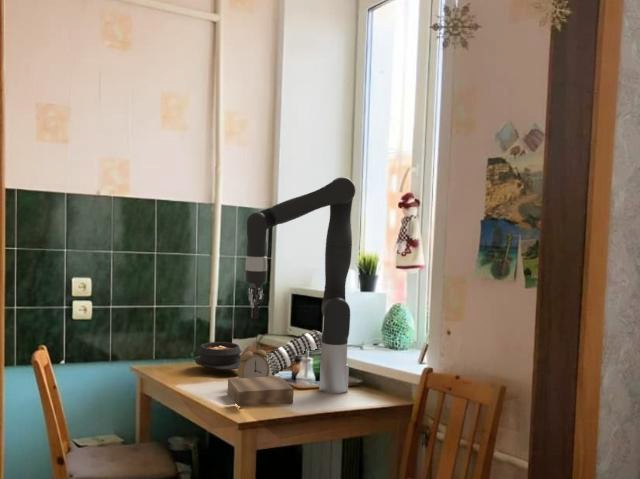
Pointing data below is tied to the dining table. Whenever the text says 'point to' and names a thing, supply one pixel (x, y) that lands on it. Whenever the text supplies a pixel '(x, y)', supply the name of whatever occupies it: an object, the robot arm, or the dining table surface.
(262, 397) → the walnut block
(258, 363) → the alarm clock
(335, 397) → the dining table surface
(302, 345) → the decorative candle
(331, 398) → the dining table surface
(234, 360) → the casserole
